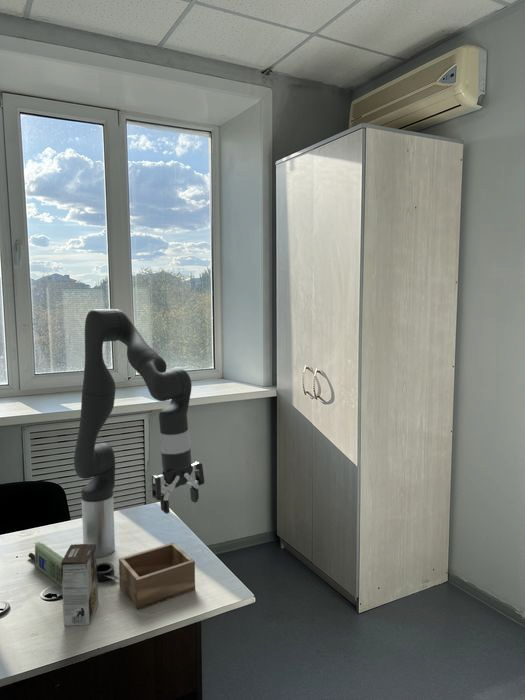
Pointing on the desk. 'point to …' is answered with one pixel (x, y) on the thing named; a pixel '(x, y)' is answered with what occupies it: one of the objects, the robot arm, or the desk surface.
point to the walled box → (156, 575)
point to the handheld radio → (48, 562)
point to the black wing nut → (105, 572)
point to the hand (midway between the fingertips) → (180, 506)
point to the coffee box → (79, 584)
